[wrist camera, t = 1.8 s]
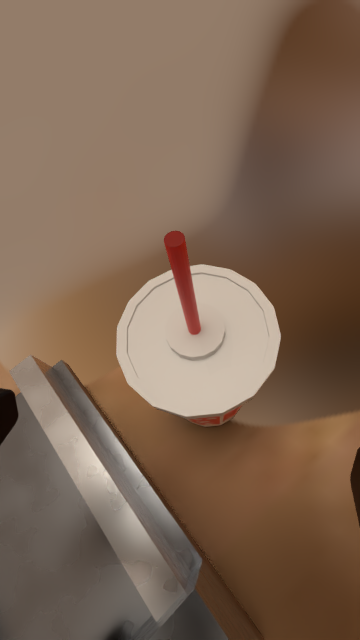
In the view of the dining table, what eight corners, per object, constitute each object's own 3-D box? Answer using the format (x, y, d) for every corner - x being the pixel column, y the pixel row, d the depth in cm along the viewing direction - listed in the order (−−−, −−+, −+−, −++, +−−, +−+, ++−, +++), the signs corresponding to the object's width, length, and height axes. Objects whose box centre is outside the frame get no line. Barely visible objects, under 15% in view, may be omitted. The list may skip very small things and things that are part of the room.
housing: (264, 638, 14) (282, 719, 9) (20, 938, 11) (-117, 1253, 7) (68, 364, 21) (26, 336, 17) (-105, 504, 19) (-208, 515, 14)
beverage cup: (236, 333, 20) (253, 123, 8) (273, 423, 18) (385, 312, 5) (151, 359, 20) (37, 190, 8) (174, 454, 18) (52, 416, 5)
